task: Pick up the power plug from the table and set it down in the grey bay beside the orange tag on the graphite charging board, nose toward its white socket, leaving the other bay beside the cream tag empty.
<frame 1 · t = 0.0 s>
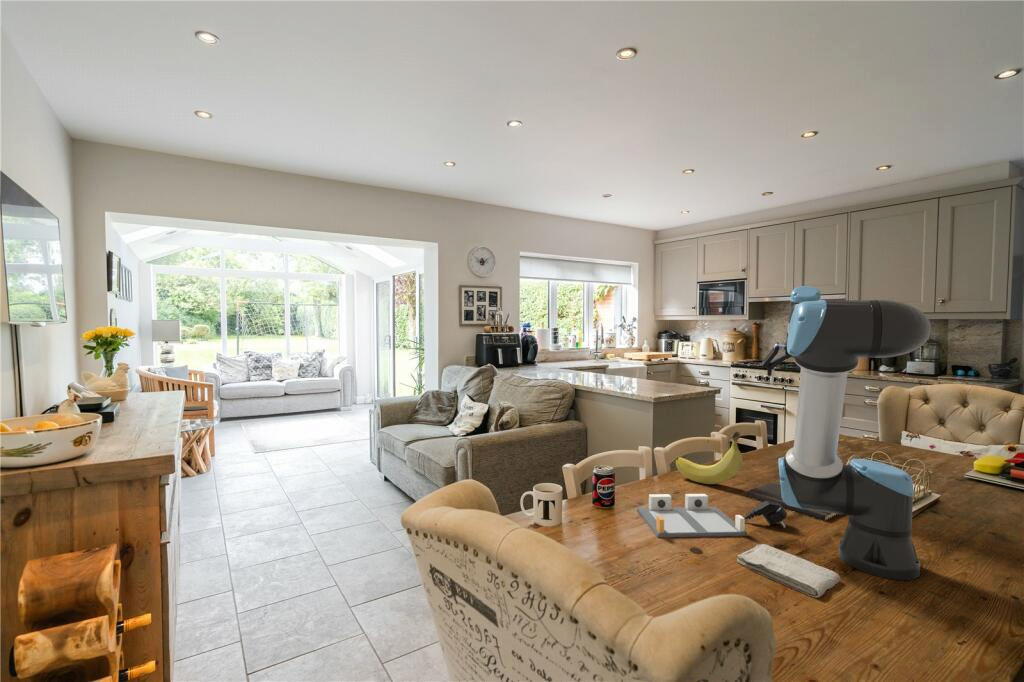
hand: (795, 383, 159), 36 cm above the table, tool tilted 35°, fingers open, 13 cm apart
power plug: (761, 525, 133), on the table
banana: (706, 484, 165), on the table
charging board: (688, 522, 133), on the table
hardcover book: (795, 505, 148), on the table
washcloth: (786, 575, 107), on the table
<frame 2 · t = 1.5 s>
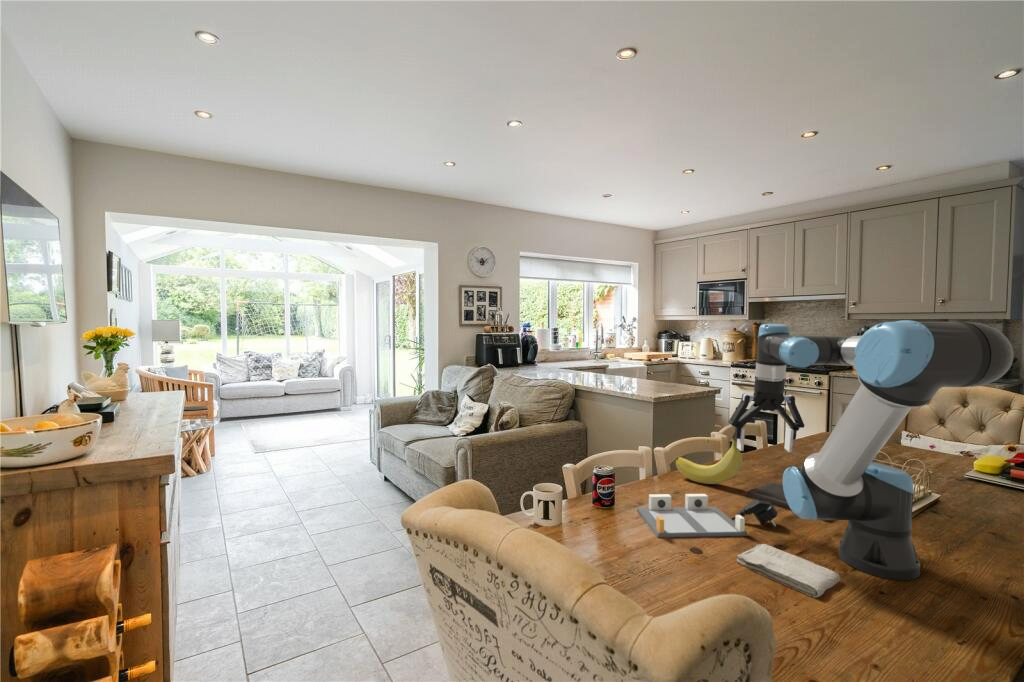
hand: (763, 449, 138), 19 cm above the table, tool pointing down, fingers open, 13 cm apart
power plug: (752, 523, 133), on the table
everything else where it was.
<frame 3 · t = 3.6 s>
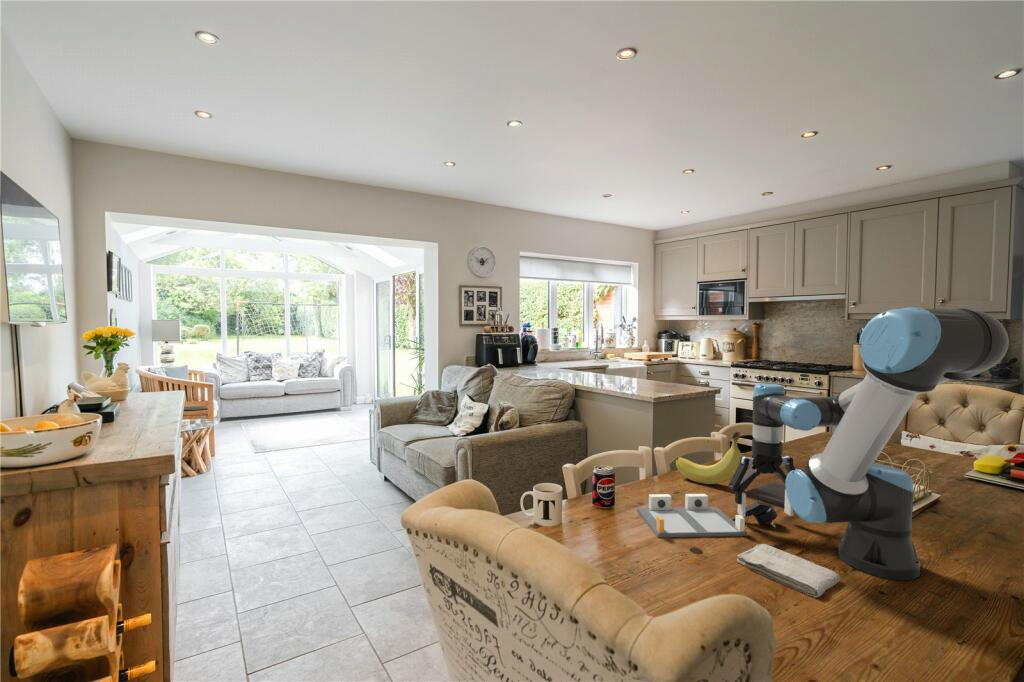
hand: (765, 514, 133), 2 cm above the table, tool pointing down, fingers open, 13 cm apart
power plug: (752, 525, 133), on the table, touching gripper
everything else where it was.
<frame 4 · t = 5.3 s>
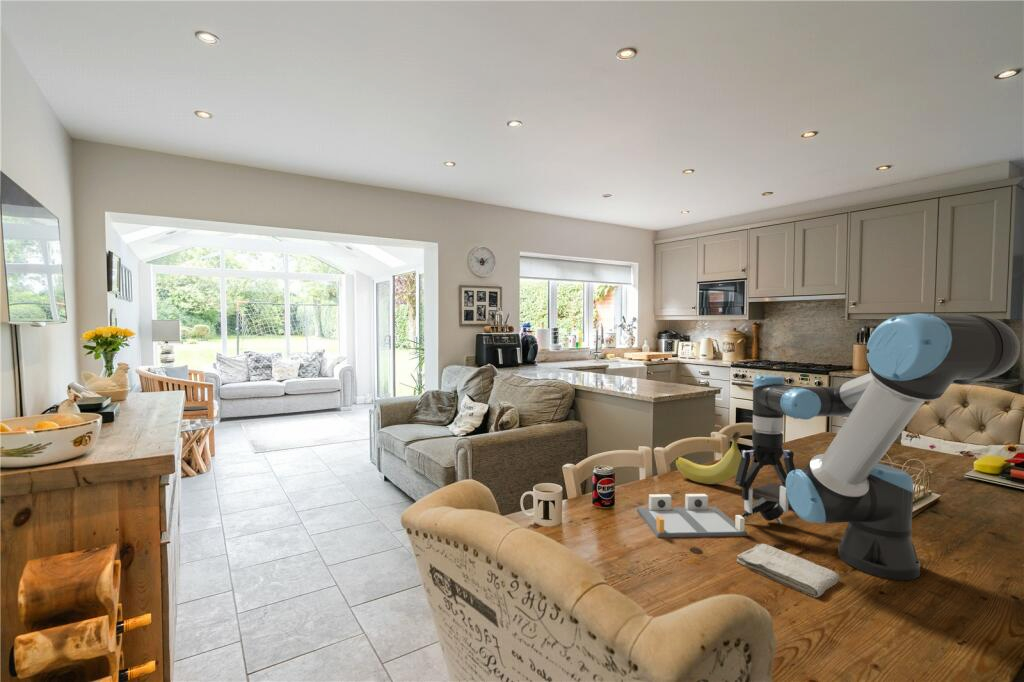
hand: (765, 511, 132), 4 cm above the table, tool pointing down, fingers closed on power plug, 9 cm apart
power plug: (758, 522, 133), on the table, touching gripper
everything else where it was.
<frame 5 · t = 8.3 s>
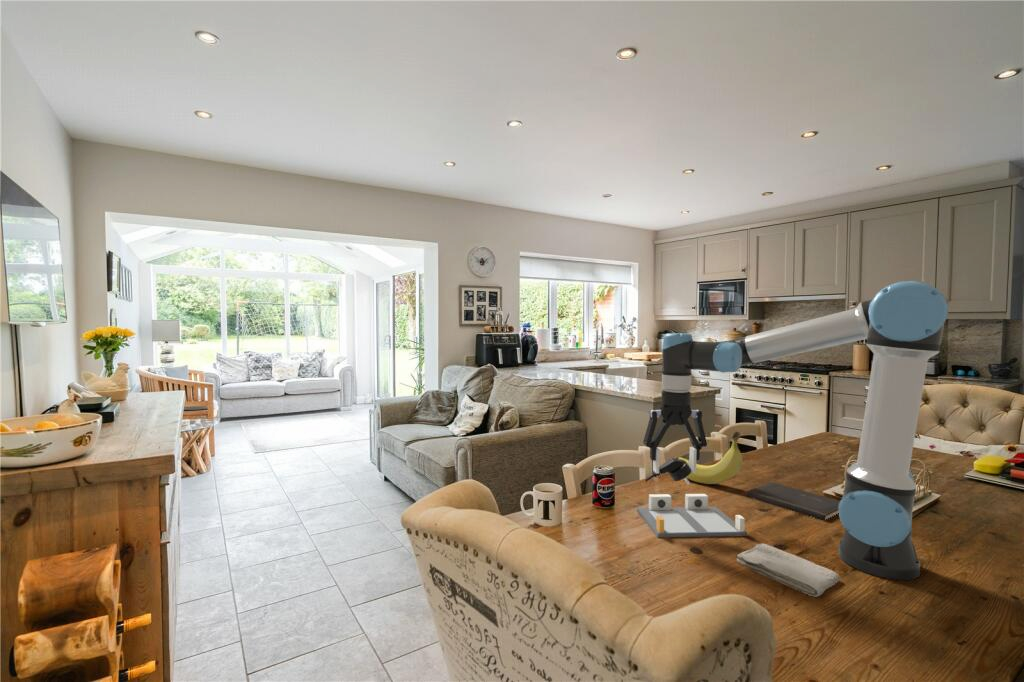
hand: (674, 471, 129), 15 cm above the table, tool pointing down, fingers closed on power plug, 9 cm apart
power plug: (667, 483, 130), point 12 cm above the table, touching gripper
everything else where it was.
when the fingers open (5 cm above the table, at t = 11.1 s): power plug stays where it is, resting on charging board.
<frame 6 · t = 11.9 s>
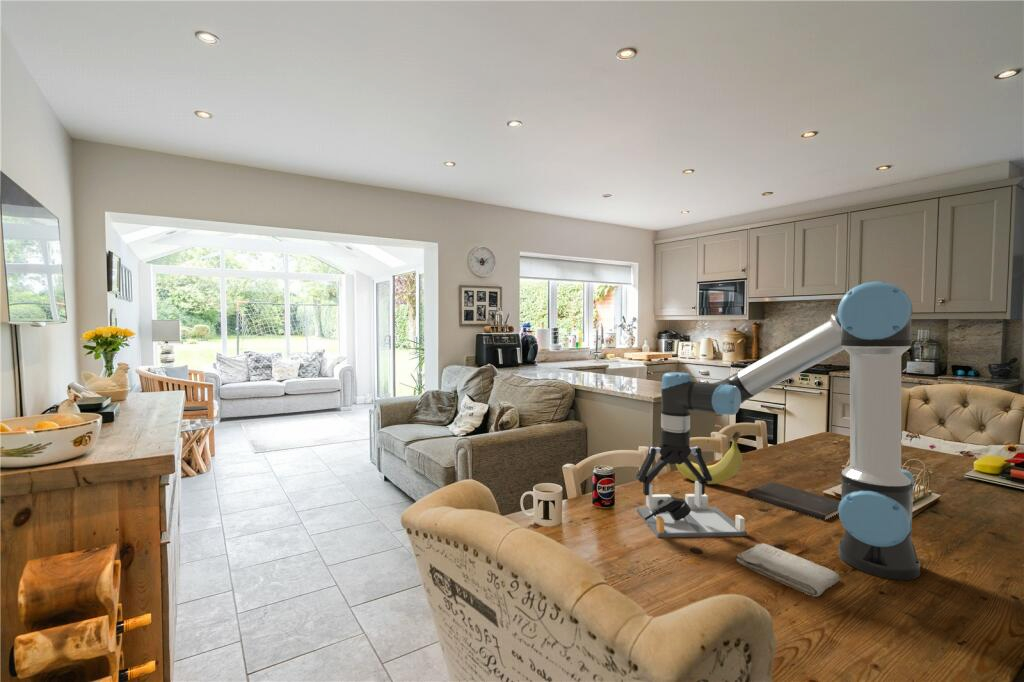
hand: (673, 506, 130), 6 cm above the table, tool pointing down, fingers open, 13 cm apart
power plug: (667, 521, 131), point 1 cm above the table, touching charging board
everything else where it was.
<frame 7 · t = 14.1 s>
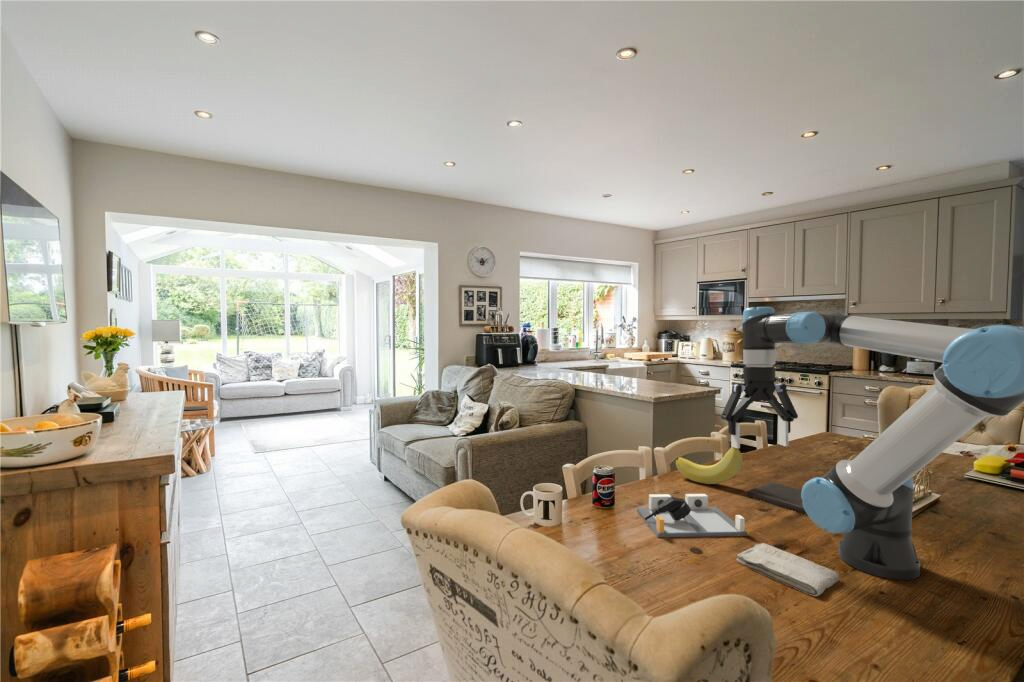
hand: (759, 446, 125), 24 cm above the table, tool pointing down, fingers open, 13 cm apart
nothing on the table moved.
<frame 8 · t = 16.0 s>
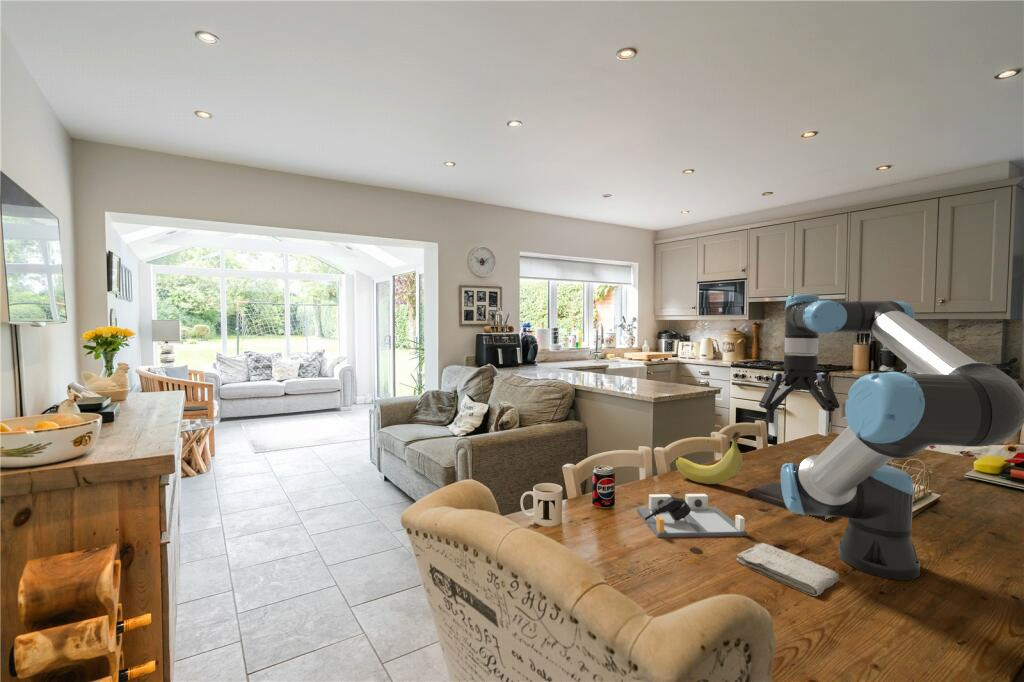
hand: (798, 435, 125), 27 cm above the table, tool pointing down, fingers open, 13 cm apart
nothing on the table moved.
at the end: power plug inside the target area on the charging board (1.3 cm from its centre), point 1.0 cm above the charging board's base; the gripper is holding nothing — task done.
